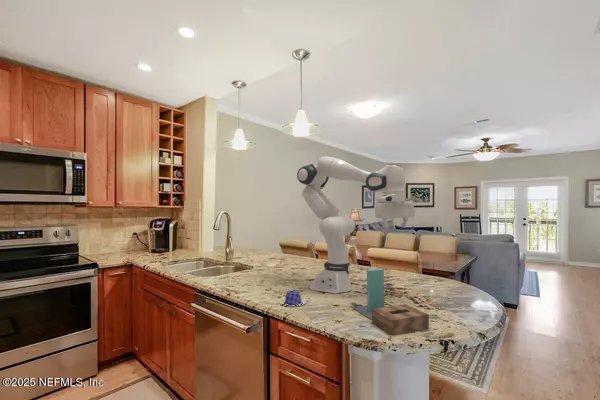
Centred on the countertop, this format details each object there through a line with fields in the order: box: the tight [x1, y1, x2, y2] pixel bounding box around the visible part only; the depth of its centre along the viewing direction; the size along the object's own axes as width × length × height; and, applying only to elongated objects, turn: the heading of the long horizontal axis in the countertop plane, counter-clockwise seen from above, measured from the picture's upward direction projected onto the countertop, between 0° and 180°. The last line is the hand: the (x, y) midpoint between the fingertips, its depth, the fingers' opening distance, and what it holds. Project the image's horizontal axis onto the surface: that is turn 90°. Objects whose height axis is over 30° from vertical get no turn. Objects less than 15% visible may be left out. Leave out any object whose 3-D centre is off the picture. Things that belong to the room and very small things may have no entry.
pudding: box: [279, 290, 307, 307], centre depth 133 cm, size 12×12×5 cm
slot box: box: [371, 303, 430, 336], centre depth 107 cm, size 16×12×5 cm
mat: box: [352, 305, 387, 321], centre depth 121 cm, size 14×14×1 cm
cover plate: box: [366, 268, 385, 313], centre depth 121 cm, size 7×2×17 cm, turn 110°
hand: (395, 227), depth 137 cm, fingers open, 8 cm apart
